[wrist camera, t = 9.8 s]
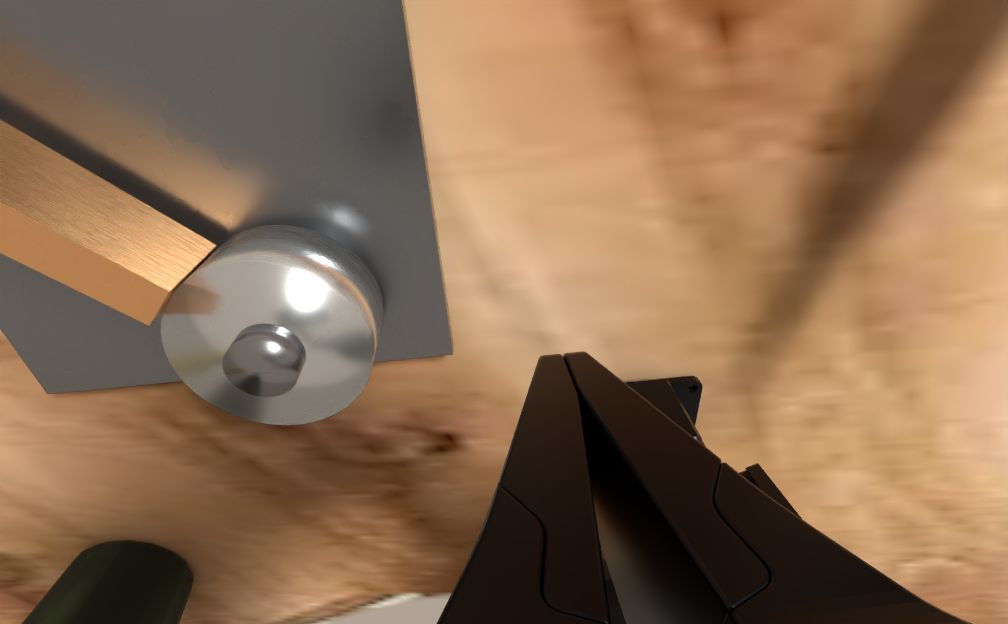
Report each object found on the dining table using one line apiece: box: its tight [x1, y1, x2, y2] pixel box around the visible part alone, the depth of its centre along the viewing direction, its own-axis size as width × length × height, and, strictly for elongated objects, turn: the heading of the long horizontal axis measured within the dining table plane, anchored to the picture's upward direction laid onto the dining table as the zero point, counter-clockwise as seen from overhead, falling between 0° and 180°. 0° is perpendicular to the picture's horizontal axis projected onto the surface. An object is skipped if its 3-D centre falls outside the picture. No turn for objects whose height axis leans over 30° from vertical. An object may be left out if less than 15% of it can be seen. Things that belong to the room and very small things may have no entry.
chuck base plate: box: [0, 0, 453, 394], centre depth 17 cm, size 21×18×1 cm
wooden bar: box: [0, 120, 384, 425], centre depth 16 cm, size 20×7×4 cm, turn 50°
